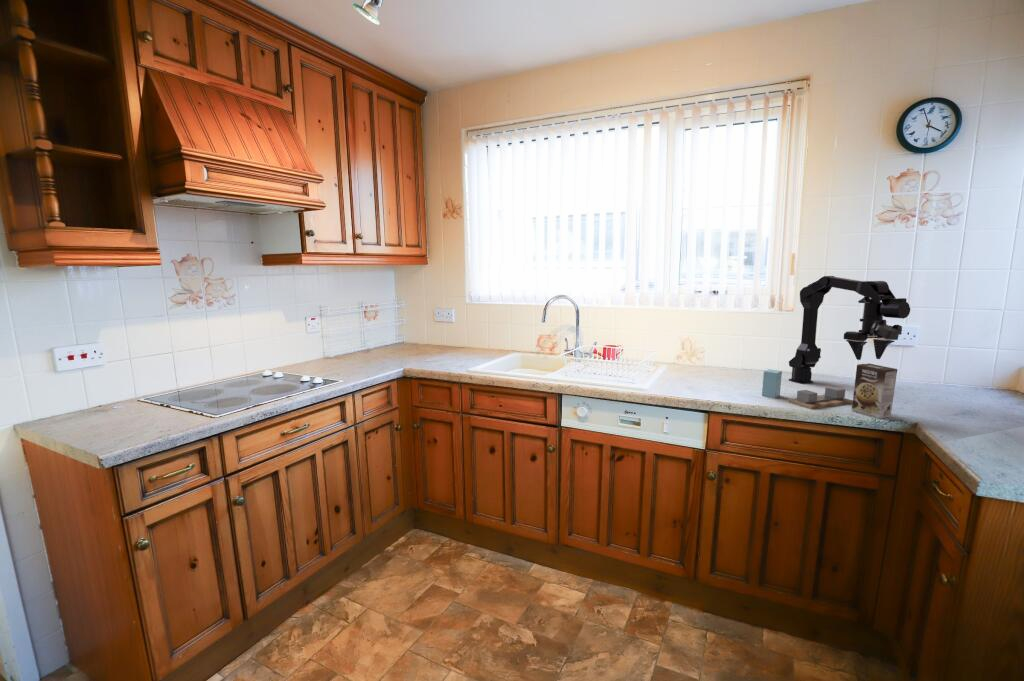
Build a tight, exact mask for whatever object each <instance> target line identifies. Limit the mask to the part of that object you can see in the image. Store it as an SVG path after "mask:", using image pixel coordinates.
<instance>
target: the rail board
mask: <svg viewBox="0 0 1024 681" xmlns="http://www.w3.org/2000/svg"><path fill="white" fill-rule="evenodd" d="M819 396H825V394H819V395H818V394H817V397H819ZM787 402H788V403H790V404H793V405H797V406H800V407H803V408H805V409H809V410H814V409H820V408H821V407H822V408H826V407H827V408H828V406H829V407H835V406H834V405H836V406H842V405H841V404H843V405H848V403H850V404H852V403H853V399H849V398H846V397H844V399H838V400H830V401H823V402H816V403H809V404H805V403H802V402H799V401H797V397H796V398H790V399H789V398H788V401H787Z"/></svg>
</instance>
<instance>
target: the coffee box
mask: <svg viewBox="0 0 1024 681" xmlns="http://www.w3.org/2000/svg"><path fill="white" fill-rule="evenodd" d="M897 376H898V369H897V368H893V367H889V366H884V365H879V364H874V363H860V364H859V363H858V364H857V365H856V371H855V380H854V388H853V397H852V400H853V403H851V404H852V405H851V411H852V412H854V411H855V413H859V414H861V415H865V416H869V417H871V418H876V419H884V418H889V417H890V418H891V417H892V410H893V403H894V396H895V395H894V394H895V388H896V383H897Z"/></svg>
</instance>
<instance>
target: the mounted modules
mask: <svg viewBox="0 0 1024 681" xmlns="http://www.w3.org/2000/svg"><path fill="white" fill-rule="evenodd" d="M824 389H825V390H824V395H825V396H829V397H833V398H836V399H837V398H846V397H845V395H846V389H845V388H842V387H837V386H825V388H824ZM796 394H797V395H796V398H797V399H798V400H802V401H805V402H815V401H817V395H818V392H815V391H811V390H808V389H802V390H797V393H796Z"/></svg>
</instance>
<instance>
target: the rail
mask: <svg viewBox="0 0 1024 681" xmlns="http://www.w3.org/2000/svg"><path fill="white" fill-rule="evenodd" d="M844 398H845V397H844ZM844 398H837V399H836V398H833V397H829V396H819V397H817V401H815V402H805V401H802V400H798V399H797V401H799V402H802V403H805V404H809V403H816V402H823V401H830V400H838V399H844Z"/></svg>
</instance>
